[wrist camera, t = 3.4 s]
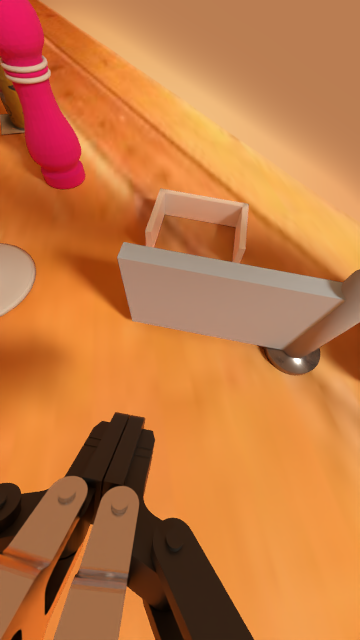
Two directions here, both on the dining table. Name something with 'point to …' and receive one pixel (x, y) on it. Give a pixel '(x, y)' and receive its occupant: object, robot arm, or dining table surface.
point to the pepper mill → (38, 96)
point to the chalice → (14, 276)
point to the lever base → (292, 361)
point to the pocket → (199, 215)
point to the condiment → (10, 107)
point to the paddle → (237, 299)
